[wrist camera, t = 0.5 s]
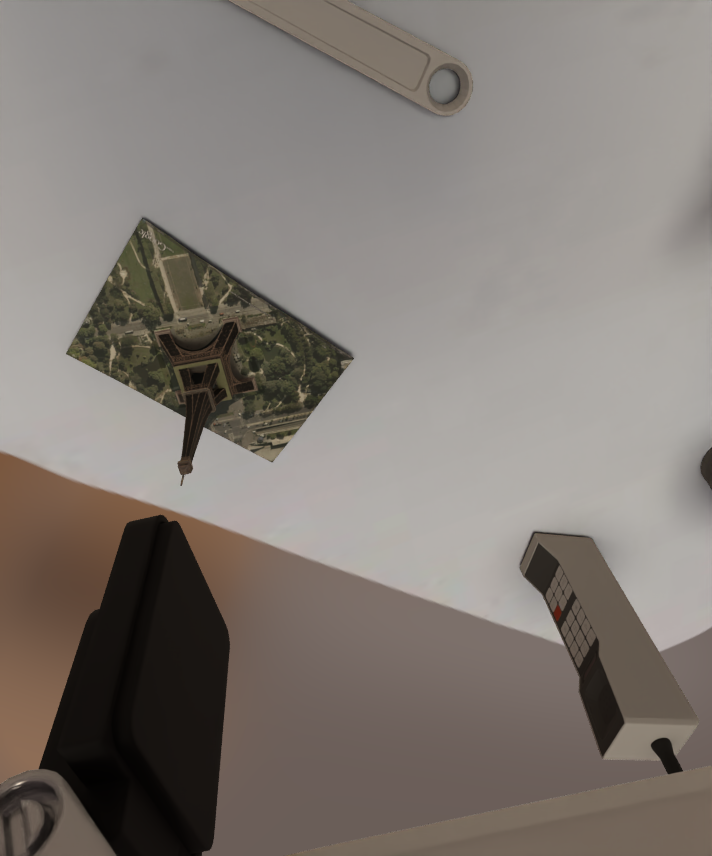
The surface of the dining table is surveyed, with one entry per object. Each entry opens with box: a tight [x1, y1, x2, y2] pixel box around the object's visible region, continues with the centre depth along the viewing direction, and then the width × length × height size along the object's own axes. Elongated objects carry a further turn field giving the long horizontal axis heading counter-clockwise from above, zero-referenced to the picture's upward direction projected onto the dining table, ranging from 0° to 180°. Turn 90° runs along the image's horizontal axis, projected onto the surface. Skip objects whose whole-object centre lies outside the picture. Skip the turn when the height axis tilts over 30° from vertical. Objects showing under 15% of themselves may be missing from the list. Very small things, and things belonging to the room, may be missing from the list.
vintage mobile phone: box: [520, 533, 699, 774], centre depth 43 cm, size 4×5×25 cm
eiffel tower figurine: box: [66, 218, 354, 486], centre depth 36 cm, size 15×10×13 cm
